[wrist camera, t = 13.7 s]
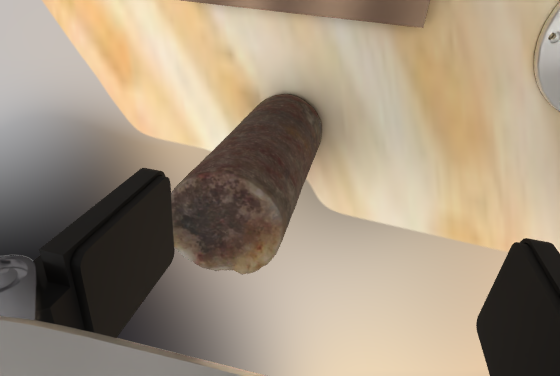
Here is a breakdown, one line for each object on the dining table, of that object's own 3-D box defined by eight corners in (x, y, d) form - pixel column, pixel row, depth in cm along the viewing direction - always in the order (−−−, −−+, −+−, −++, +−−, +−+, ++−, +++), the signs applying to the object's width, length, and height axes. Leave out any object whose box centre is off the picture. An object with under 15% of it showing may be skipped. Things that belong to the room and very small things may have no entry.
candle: (264, 77, 38) (170, 158, 20) (335, 103, 37) (300, 207, 20) (245, 145, 41) (153, 261, 24) (309, 169, 41) (262, 304, 24)
